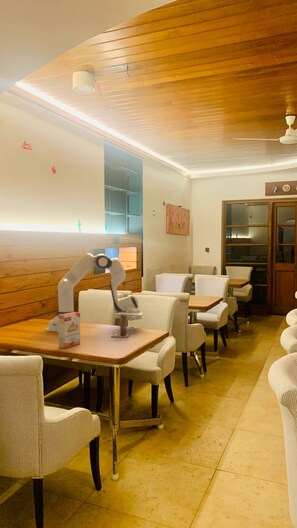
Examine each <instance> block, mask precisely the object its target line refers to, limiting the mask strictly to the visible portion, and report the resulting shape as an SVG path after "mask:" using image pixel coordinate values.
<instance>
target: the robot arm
mask: <svg viewBox="0 0 297 528" xmlns="http://www.w3.org/2000/svg"><path fill="white" fill-rule="evenodd" d="M94 266H96V267H97V268H99V269H102V270H103V269H104V270H105V269H108V271H109V273H110V276H111V280H110V281H109V288H110V294H111V297H112V304H113V308H114V311H115V312H116V313H115V315H114V316H115V319H119V320H120V314H127V321H137V320H143V311H142V310H140V308H139V301H138V300H137V298H136V296H134V295H132V294H130V295H127V296H125V297H121V298H119V295H118V289H117V288H118V286H119V285H121V284H122V283H123V282H124V281H125V280H126V276H127V275H126V271H125V268H124V265H123V264H122V262H121V261H120V259H119V258H118V257H113V258H110V257H109V256H108V255H107V254H105V253H97V254H94V255H93V254H92V253H89V252H86V253H85V254H83V255H82V256H81V257H80V258H79V259H78V260H76V262H75V263H74V264H73V266H72V267H71V268H70V269H69V270H68V271H67V272H66V274H65V275H63V276H62V278H61V279H60V281H59V282H58V285H57V298H58V299H57V300H58V311H55V315H56V316H55V317H53V318H52V319H51V320H50V321H49V322H48V326H47V327H46V328H45V331H47V332H56V333H57V332H58V333H59V315H61V314H66V313H71V312H75V310H74V305H75V304H74V287H76V285H77V284H78V283H79V282H81V280H82V279H83V278H84V277H85V276H86V275H87V273H88V272H89V271H90V270H91V268H93V267H94Z"/></svg>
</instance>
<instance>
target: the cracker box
mask: <svg viewBox="0 0 297 528" xmlns="http://www.w3.org/2000/svg"><path fill="white" fill-rule="evenodd" d="M80 344H81V312H79V311H74V312H71V313H66V314H61V315H59V332H58V348H60V349H64V350H65V349H68V348H71V347H74V346H75V347H76V346H78V345H80Z"/></svg>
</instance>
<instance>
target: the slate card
mask: <svg viewBox="0 0 297 528" xmlns="http://www.w3.org/2000/svg"><path fill="white" fill-rule="evenodd" d="M130 336H131V334H130V333H129V334H128V333H127V336H120V333H113V334H112V335H111V336H110V338H117V339H118V338H119V339H128V338H129V337H130Z"/></svg>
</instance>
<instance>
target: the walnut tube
mask: <svg viewBox="0 0 297 528" xmlns="http://www.w3.org/2000/svg"><path fill="white" fill-rule="evenodd" d="M127 321H128V320H127V314H120V319H119V322H120V325H119V326H120V327H119V334H120V336H127V334H128V333H127V332H128V331H127V328H128V327H127V325H128V324H127V323H128V322H127Z"/></svg>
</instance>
